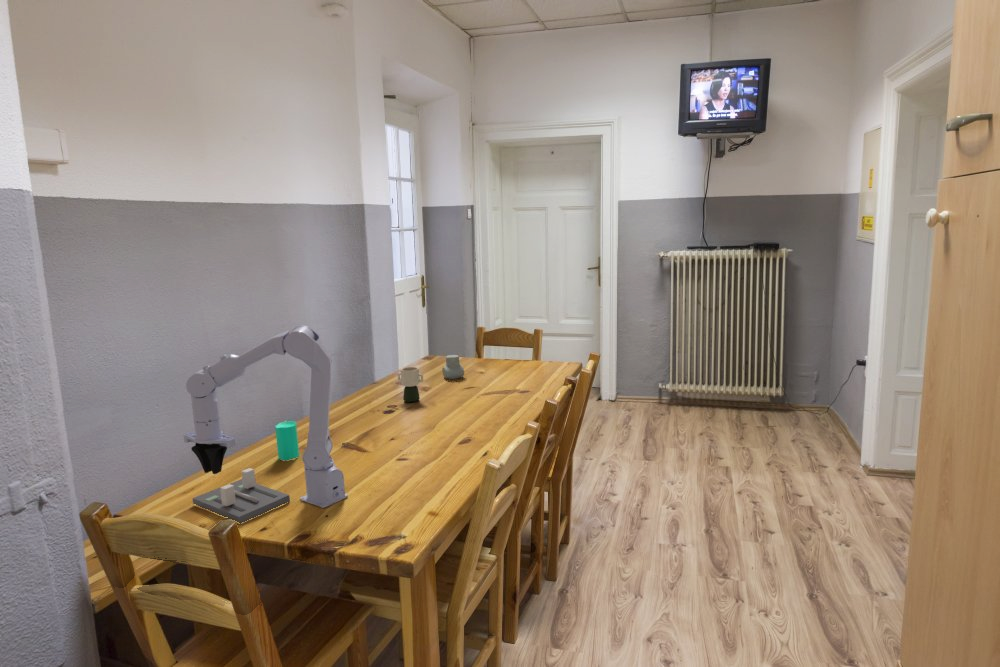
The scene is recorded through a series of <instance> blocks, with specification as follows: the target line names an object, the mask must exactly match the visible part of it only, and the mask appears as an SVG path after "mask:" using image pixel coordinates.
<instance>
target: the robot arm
mask: <svg viewBox="0 0 1000 667" xmlns="http://www.w3.org/2000/svg"><path fill="white" fill-rule="evenodd" d="M273 354H276V355H283V356H284V355H285V354H288V355H289V356H291V357H293V358H295V359H298V360H300V361H301V362H303V363H304V364H306V366H308V367H309V368H310V370H311V374H310V375H311V376H310V395H309V396H310V397H309V398H310V400H309V417H308V418H309V420H308V423H309V424H308V433H307V440H306V447H305V449H304V451H303V454H302V461H303V464H304V466H303V469H304V478H305V488H306V494H305V495H303V496H300V497H299V500H300V501H302V502H305V503H308V504H310V505H313V504H314V505H313V506H316V507H319V508H322V509H326V508H327V507H329V506H332V505H334V504H335V503H338V502H339V501H342V500H344V499H346V498H348V497H349V495H348V494H347V493H346V490H345V488H346V487H345V478H344V477H345V476H344V473H343V471H342V470H341V469H339V468H338V467H336V464H335V462H334V459H333V457H332V456H331V455H330V454H331V452H332V451H333V441H332V439H331V437H330V428H329V426H330V425H329V423H330V405H331V385H332V384H331V383H332V382H331V381H332V364H333V363H332V362H333V360H332V357H331V355H330V353H329V351H328V349H327V348H326V347H325V344H324V343H323V342H322V339H321V336H320V334H319V333H318V332H316V331H315V330H313V329H312V328H311V327H309V326H307V325H299V326H295V328H293V329H292V330H291V329H288V330H286V331H283V332H281V333H278V334H276V335H274V336H271V337H269V339H267V340H265V341H263V342H262V343H259V344H258V345H256V346H255V347H253V348H251V349H249V350H247V351H245V352H244V353H241V354H240V355H237V354H234V353H230V354H228V355H227V353H226V354H223V355H221V356H220V359H219V360H218V361H215V362H214V363H212V364H210V365H208V364H205V365H204V366H202V369H199V370H198V371H196V372H194V373H193V374H192V375H191V376H189V378H188V379H187V381H186V384H185V387H186V391H187V393H189V394H190V396H191V407H192V408H191V409H192V416H193V424H194V431H195V432H187V433H185V434H183V440H184V443H195V444H194V445H193V446H192V447H191V451H192V452H193V454H195V456H196V457H197V459H198V461H199V462H200V464H201V467H202V469H203V471H204V473H205V474H208V473H209V472H212V474H213V475H218V473H221V472H222V469H223V468H222V467H223V462H224V459H225V455H226V453H227V451H228V449H231V448H234V447H235V446H236V438H235V437H231V436H229V435H227V434H225V433H224V431H222V426H221V419H220V418H221V417H220V411H219V410H220V409H219V400H218V396H217V388H220V387H223V386H225V385H226V384H229V383H230V382H232V381H234V380H236V379H239V378H240V377H241V376H244V375H245V371H246V368H247V367H249V366H251V365H253V364H255V363H258V361H259V362H260V360H263V359H265V358H267V357H269V356H271V355H273Z"/></svg>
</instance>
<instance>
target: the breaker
mask: <svg viewBox="0 0 1000 667" xmlns="http://www.w3.org/2000/svg"><path fill="white" fill-rule="evenodd" d="M241 479H242V481H243V487H244V488H247V489H248V488H251V487H253V486H256V484H257V482H256V474H255V469H254V468H251V467H249V468H246V469H243V470H241Z"/></svg>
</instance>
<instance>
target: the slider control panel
mask: <svg viewBox="0 0 1000 667" xmlns="http://www.w3.org/2000/svg"><path fill="white" fill-rule="evenodd" d="M229 484H230V485H233V486H234V491H235V500H236V503H234V504H232V505H229V506H225V505H222V499H221V491H220V487H218V488H214V489H213V490H210V491H207V492H205V493H202V494H200V495H198V496H197V495H196V496H195V497H193V498H192V505H193V504H196V505H198V506H200V507H202V508H205V509H208V510H210V511H212V512H215V513H217V514H219V515H222V516H224V517H228V518H224V519H225V520H227V519H232V520H235V521H237V522H239V523H240V524H241V523H242V522H245V521H247V520H249V519H251V518H254V517H256V516H258V515H261V514H263V513H265V512H267V511H269V510H271V509H273V508H276V507H278V506H280V505H282V504H285V503H287V502H290V503H291V499H290V494H287V493H285V492H281V491H279V490H276V489H273V488H270V487H268V486H267V487H266V486H264V485H262V484H258V483H256V486H253V487H251V488H248V489H247V488H244V487H243V481H242V478H241V479H239V480H236V481H234V482H230V483H229ZM263 515H264V514H263ZM261 516H262V515H261ZM254 519H255V518H254ZM245 523H246V522H245ZM241 525H242V524H241Z"/></svg>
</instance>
